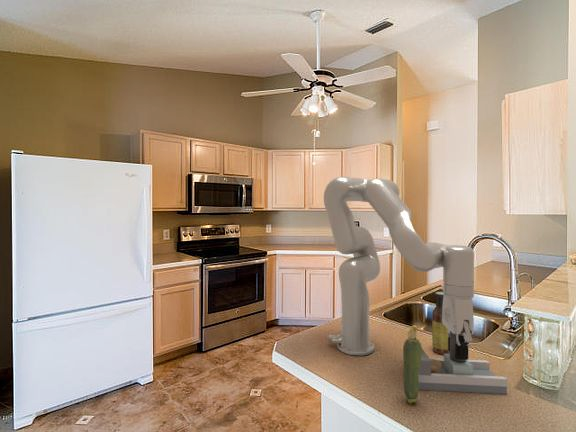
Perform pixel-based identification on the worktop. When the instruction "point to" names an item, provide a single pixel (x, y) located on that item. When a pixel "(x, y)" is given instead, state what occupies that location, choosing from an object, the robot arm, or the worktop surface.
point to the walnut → (435, 366)
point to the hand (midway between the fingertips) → (457, 354)
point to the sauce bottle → (439, 327)
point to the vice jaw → (456, 360)
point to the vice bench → (460, 378)
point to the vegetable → (411, 364)
